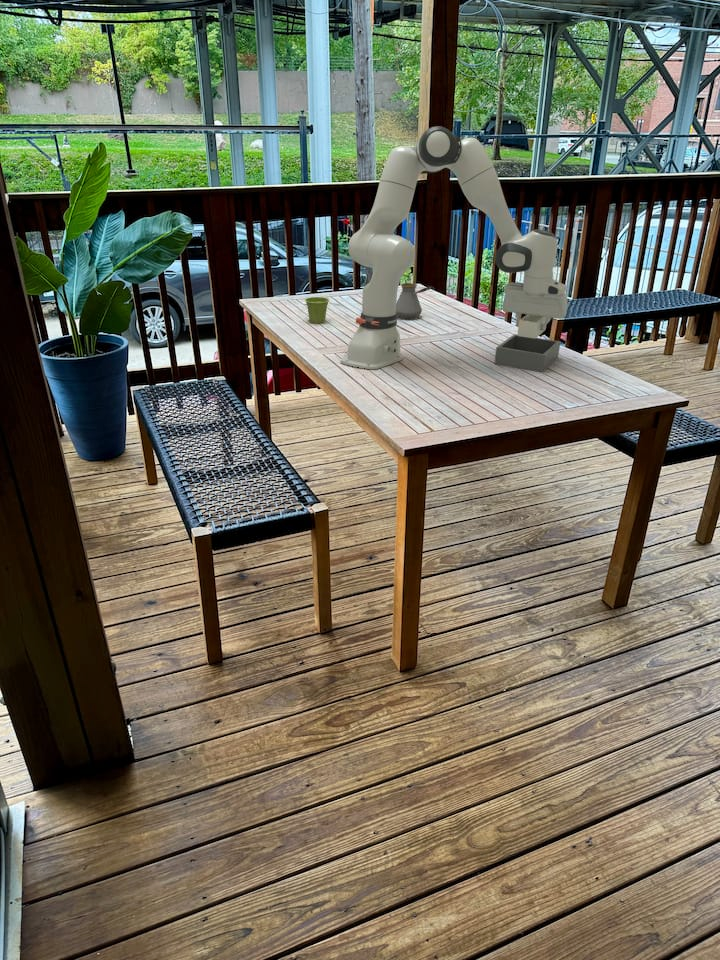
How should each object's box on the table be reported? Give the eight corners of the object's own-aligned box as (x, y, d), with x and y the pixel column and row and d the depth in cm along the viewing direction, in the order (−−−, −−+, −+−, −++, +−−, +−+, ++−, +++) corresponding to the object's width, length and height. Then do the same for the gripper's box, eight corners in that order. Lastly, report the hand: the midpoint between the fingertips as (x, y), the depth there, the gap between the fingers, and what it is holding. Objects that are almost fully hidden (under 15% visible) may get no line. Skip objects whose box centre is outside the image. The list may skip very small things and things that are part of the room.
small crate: (535, 338, 208) (537, 323, 205) (517, 335, 210) (519, 320, 208) (543, 331, 215) (546, 316, 213) (526, 328, 218) (528, 313, 215)
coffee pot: (388, 315, 268) (389, 278, 261) (411, 312, 273) (412, 275, 266) (418, 327, 252) (420, 288, 245) (441, 323, 257) (444, 285, 250)
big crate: (542, 373, 206) (545, 355, 204) (494, 365, 213) (496, 347, 210) (557, 358, 220) (560, 341, 217) (512, 351, 227) (514, 334, 224)
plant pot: (333, 322, 256) (333, 300, 252) (313, 326, 252) (312, 303, 247) (321, 317, 263) (321, 295, 259) (301, 320, 258) (300, 298, 254)
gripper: (502, 283, 207) (497, 326, 214) (567, 290, 198) (560, 335, 205) (508, 279, 212) (503, 321, 219) (571, 286, 203) (564, 330, 210)
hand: (531, 328), depth 212 cm, fingers closed on small crate, 6 cm apart
